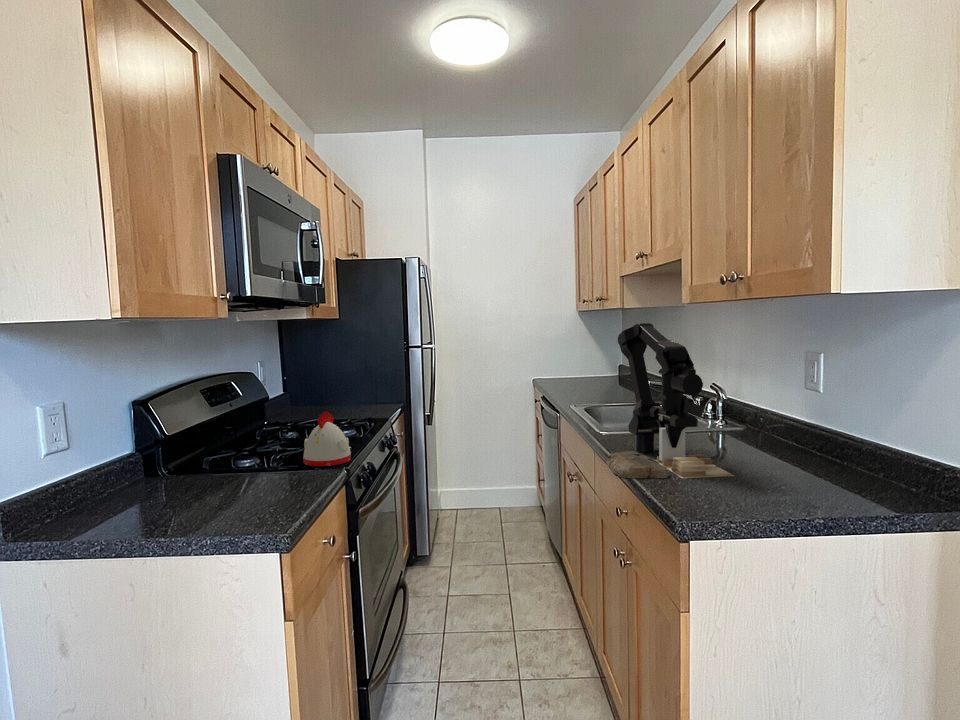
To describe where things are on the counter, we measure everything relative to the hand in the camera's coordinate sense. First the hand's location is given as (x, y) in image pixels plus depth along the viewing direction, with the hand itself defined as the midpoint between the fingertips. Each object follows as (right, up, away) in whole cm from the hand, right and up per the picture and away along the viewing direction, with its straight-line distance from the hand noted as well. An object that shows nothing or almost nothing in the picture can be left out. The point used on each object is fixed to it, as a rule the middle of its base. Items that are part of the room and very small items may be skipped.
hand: (672, 446), depth 152 cm
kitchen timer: (-100, -7, +15) cm, 102 cm away
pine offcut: (+1, -3, -10) cm, 10 cm away
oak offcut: (+1, -4, -10) cm, 11 cm away
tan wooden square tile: (+1, -5, -10) cm, 11 cm away
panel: (0, -4, 0) cm, 4 cm away
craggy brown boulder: (-12, -7, -3) cm, 14 cm away
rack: (+4, -6, -4) cm, 8 cm away
